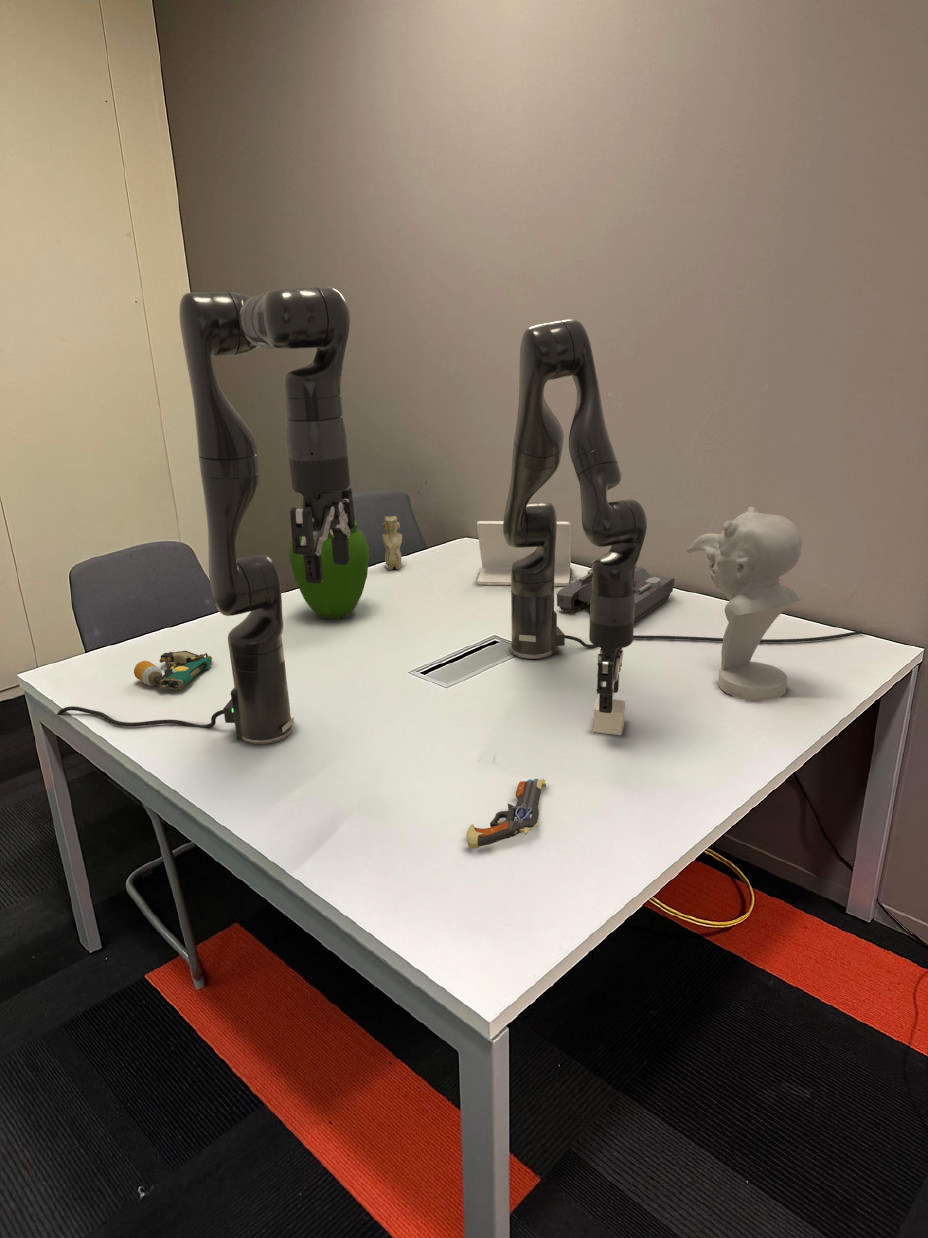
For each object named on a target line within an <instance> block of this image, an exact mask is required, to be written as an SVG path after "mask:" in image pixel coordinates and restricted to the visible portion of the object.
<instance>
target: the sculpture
mask: <svg viewBox="0 0 928 1238" xmlns="http://www.w3.org/2000/svg"><path fill="white" fill-rule="evenodd" d="M400 527H401V524H400V522H399V521H398V517H397V515H392V516H389V515H388V516H386V515H385V516H384V522H383V523H382V528H383V529H384V531H386V533H383V534H382V535H381V538H382V543H383V546H384V548H385V553H384V561H385V565H386V567H387V570H393V569H395V570H400V569H401V565H402V557H403V556H402V553H401V546H402V543H403V535H402V533H400V532H398V530H399V529H400Z"/></svg>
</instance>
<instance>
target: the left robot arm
mask: <svg viewBox="0 0 928 1238" xmlns="http://www.w3.org/2000/svg"><path fill="white" fill-rule="evenodd" d="M178 316H179V327H180V334H181V340H182V346H183V351H184V356H185V361H186V367H187V373H188V377H189V378H188V379H189V383H190V389H191V395H192V403H193V409H194V420H195V426H196V428H195V429H196V440H197V452H198V453H197V454H198V462H199V471H200V477H201V485H202V491H203V499H204V507H205V516H206V523H207V524H206V525H207V540H208V541H207V543H208V545H207V546H208V547H207V548H208V549H207V550H208V575H209V576H208V577H209V588H210V592H211V597H212V600H213V603H214V605H215V607H216V609H217V610H218V612H219V613H220V614H221V615H223V616H226V617H232V616H238V615H242V614H245V613H248V615H246V617H245V618H244V619H243V620H242V621H241V622H240V623H238V624H237V625H236V626H234V627H233V628H231V630H230V631H229V632H228V635H227V645H228V650H229V658H230V665H231V672H232V679H233V688H232V689H231V691H230V700H229V701H228V702H227V703H226V705H225V706H224V707H223V709H220V710H217V711H216V712H215V713H213V714H212V715H211V718H210V723H207V724H197V723H193V722H188V721H185V720H180V719H155V720H147V721H146V720H145V721H136V722H135V721H134V722H128V721H127V722H126V721H121V720H120V721H119V720H116V719H114V718H112V717H110V716H109V715H107V714H106V713H104V712H101V711H98V710H94V709H89V708H85V707H82V706H72V705H69V706H66V707H62V708H61V709H59V710H58V712H57V713H56V715H57V716H61V715H63V714H65V713H66V712H69V711H74V712H81V713H86V714H89V715H94V716H97V717H100V718H102V719H104V720H105V721H107V722H108V723H110V724H112V725H114V726H118V727H125V728H127V727H129V728H130V727H131V728H132V727H146V726H155V725H179V726H184V727H191V728H200V729H212V728H213V727H215V725H216V723H217V722H216V721H217V718H218V717H219V716H221V715H223V716H224V722H225V724H234V728H235V735H236V740H237V741H238V740H239V741H243V742H245V743H247V744H251V745H268V744H274V743H277V742H280V741H283V740H284V739H286V738H288V737H289V736H290V735H292V733H293V730H294V727H293V725H294V724H295V720H294V717H292V715H291V705H290V704H291V703H290V696H289V688H288V687H289V686H288V679H287V668H286V660H285V651H284V644H283V632H284V618H283V617H284V616H283V599H282V585H281V577H280V574H279V570H278V568H277V565H276V563H275V562H274V560H273V559H272V558H271V557H270V556H269V555H267V554H264V553H257V554H253V555H252V554H251V555H247V556H243V557H238V558H237V551H238V539H239V535H240V532H241V528H242V527H243V526H242V525H243V524H244V521H245V519H246V517H247V515H248V513H249V511H250V509H251V507H252V504H253V503H254V500H255V498H256V496H257V494H258V491H259V487H260V481H261V472H260V460H259V459H260V458H259V450H258V443H257V440H256V438H255V435H254V433H253V432H252V430H251V428H250V427H249V426H248V424H247V423H246V422H245V420H244V419H243V417H242V416H241V415H240V413H238V411H237V409H235V407H234V406H233V404H232V403H231V402H230V401H229V399H228V398H227V396H226V395H225V393H224V391H223V390H222V388H221V386H220V383H219V380H218V378H217V375H216V372H215V368H214V364H213V357H228V356H229V357H230V356H233V357H234V356H242V355H245V354H248V353H251V352H254V351H255V350H258V349H260V348H262V349H275V350H303V349H316V350H315V352H314V357H313V359H312V361H311V362H310V363H309V364H307V365H306V366H303V367H299V368H296V369H293V370H291V371H289V372H287V373H286V374H285V376H284V379H283V390H284V400H285V411H286V418H287V419H286V420H287V421H286V422H287V429H286V436H287V437H286V438H287V439H286V440H287V451H288V460H289V461H288V462H289V469H290V470H289V472H290V481H291V488H292V490H293V491H294V492H296V493H297V494H300V495H301V496H302V507H291V508H290V511H289V515H290V529H291V530H290V531H291V540H292V545H293V553H294V554H299V555H303V557H304V565H305V575H306V581H307V582H308V583H317V584H319V583H321V582H322V581H323V568H322V557H321V555H320V554H321V550H322V545H323V541H325V540H326V539H327V538H328V533H329V532H330V533H331V535H332V536H334V537H333V538H332V539H331V541H332V552H333V562H334V563H335V564H338V565H346V564H348V563H349V562H350V558H349V545H348V538H347V537H349V536H350V529H352V530H354V528H355V521H356V518H355V510H354V509H355V508H354V501H353V500H354V499H353V490H352V488H351V487H350V485H351V480H350V467H349V466H350V465H349V454H348V439H347V431H346V425H345V422H344V412H343V411H344V410H343V401H342V400H343V399H342V388H341V387H342V385H341V384H342V375H343V369H344V362H345V361H344V360H345V355H346V349H347V344H348V340H349V335H350V328H351V314H350V309H349V306H348V303H347V301H346V299H345V297H344V296H343V294H342V293H341V292H340V291H339V290H337V289H336V288H334V287H331V286H330V287H329V286H313V287H281V288H279V287H277V288H272V289H268V290H267V291H266V292H263V293H258V294H255V295H253V296H251V295H248V294H245V293H242V292H236V291H192V292H187V293H185V294H183V295H182V297H181V299H180V302H179V315H178ZM346 515H347V516H348V518H347V516H346ZM300 536H302V542H301V545H300ZM314 540H316V542H315V546H314Z"/></svg>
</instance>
